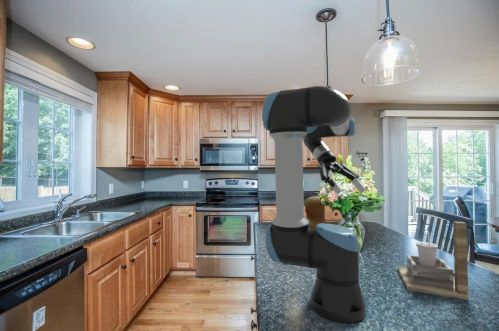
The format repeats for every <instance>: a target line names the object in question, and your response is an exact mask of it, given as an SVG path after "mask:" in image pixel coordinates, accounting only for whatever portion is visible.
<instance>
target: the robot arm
mask: <svg viewBox="0 0 499 331" xmlns="http://www.w3.org/2000/svg"><path fill="white" fill-rule="evenodd" d="M351 111H352V107H351V103H350V101H349V99H348V98H347V97H346V95H344V94H343V93H342V92H340V91H338V90H337V89H334V88H332V87H328V86H323V85H314V86H309V87H308V86H307V87H302V88H292V89H284V90H283V89H282V90H279V91H275V92H270V93H269V94H268V95H267V96H266V97H265V99H264V102H263V105H262V111H261V112H262V114H261V120H262V125H263V128H264V129H265V130H266V131H269V137H271V138H272V139H273V141H274V166H275V167H274V168H275V169H274V170H275V171H274V172H275V173H274V174H275V206H276V207H275V208H276V211H275V212H276V215H275V217H274V218H273V219H272V220H271V224H269V225H268V226H267V227H266V228H267V229H266V232H265V234H266V236H265V246H266V252H267V254H268V257H269V259H271V261H273V262H275V263H278V264H283V265H289V266H296V267H302V268H309V269H315V270H316V279H315V281H314V285H313V288H312V290H311V294H310V306H311V308H312V309H313V311H314V312H315V313H316V314H317V315H319V316H320V317H321V318H324V319H327V320H329V321H333V322H335V323H336V322H337V323H343V324H352V323H357V322H360V321H363V320H364V319H365V318H366V316H367V303H366V300H365V297H364V295H363V292H362V289H361V287H360V286H361V285H360V269H359V266H360V265H359V263H360V262H359V252H360V247H359V236H358V234H356V232H355V231H353V230H352V229H351V228H348V227H346V226H342V225H338V224H332V223H326V224H324V223H321V224H317V226H316V228H309V221H308V220H307V219H306V217H305V203H304V202H305V200H304V198H305V196H304V162H303V160H304V158H303V157H304V153H303V144H304V146H305V147H306V148H307V149H308V151H309V152H310V153H311V154H312V156H313V157H314V158H315V159H316V162H318V165H317V168H318V170H319V175H320V180H321V181H322V182H324V183H325V184H328V185H329V187H330V188H331V189H332V190H333V191H334V193H335V194H336V195H337V196H338V195H339V194H340V193H341V192H342V191H343V189H342V188H341V187H340V185H339V184H338V183H337V181H336V180H335V178H333V177H332V173H335V174H338V175H342V176H343V177H345V178H346V179H348V180H350V181H351V184H352V185H354V187H355V188H356V189H357V190H358V192H359V193H360V194H363V193H364V192H365V191H366V187H365V186H364V185H363V184H362V183H361V181H360V180H359V177H360V175H358V174H357V173H356V172H355V171H353V169H351V168H349V167H348V166H346V165H345V163H344V162H340V163H339V162H337V157H336V156H335V155H334V153H333V152H332V151H331V149H329V146H327V145H326V143H325V142H324V141H323V138H338V137H352V136H354V135H355V134H356V125H355V124H356V119H354V117H353V118H350V115H351Z"/></svg>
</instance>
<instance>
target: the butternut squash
mask: <svg viewBox="0 0 499 331" xmlns="http://www.w3.org/2000/svg"><path fill="white" fill-rule="evenodd" d="M319 196H320V195H314V196H310V197H307V198H306V199H305V200H304V202H305V203H304V213H305V216H306V217H305V218H306V219H307V220H308V221H309V228H316V226H317V224H321V223H324V224H327V221H326V216H325V215H326V213H325V212H326V207H325V205H326V204H325V203H324V204H322V203H321V200H320V198H319Z"/></svg>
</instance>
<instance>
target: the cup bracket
mask: <svg viewBox="0 0 499 331" xmlns="http://www.w3.org/2000/svg"><path fill="white" fill-rule="evenodd" d="M452 223H453V261H454V262H453V268H454V269H453V268H452V266H450V265H449V264H448V263H447V262H446V261H445V260H443V259H442V258H437V257H436V262H435V267H433V266H425V265H420V260H419V255H413V254H411V255H410V254H406V267H404V266H398V265H397V272H398V273H399V275H400V278H401V280H402V281H403V283H404V285H405V288H406V290H407V291H410V292H415V293H416V292H417V293H423V294H428V295H435V296H440V297H447V298H453V299H460V300H465V301H469V277H468V274H469V273H468V237H467V236H468V234H467V233H468V232H467V223H466V222H465V221H457V220H456V221H452Z"/></svg>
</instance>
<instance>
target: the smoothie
mask: <svg viewBox="0 0 499 331" xmlns="http://www.w3.org/2000/svg"><path fill="white" fill-rule="evenodd" d="M430 234H431V233H430V231H427V242H426V241H417V242H416V243H415V246H416V247H417V253H418V254H417V255H418V256H419V260H420V265H425V266H433V267H435V262H436V258H437V252H438V250H439V245H437V244H435V243H431V242H430V241H431V240H430V238H431V236H430Z"/></svg>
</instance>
